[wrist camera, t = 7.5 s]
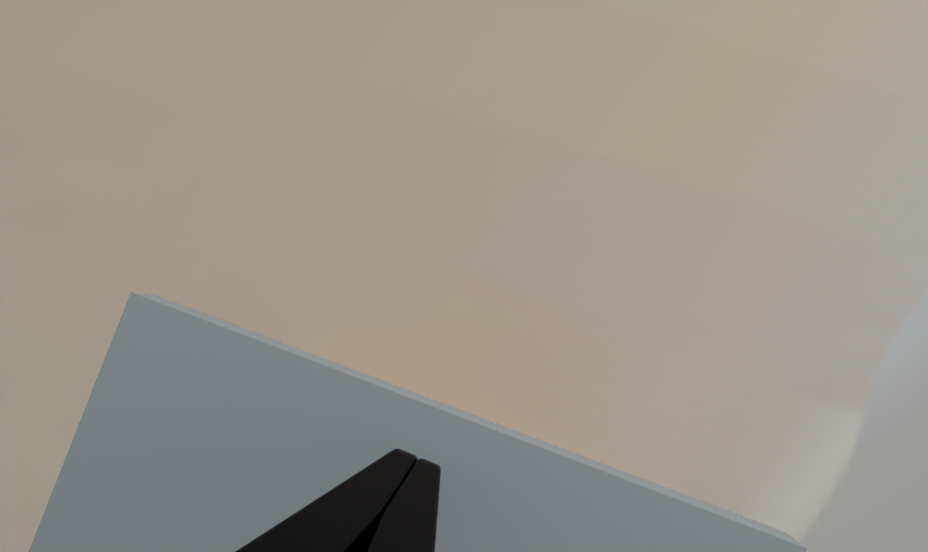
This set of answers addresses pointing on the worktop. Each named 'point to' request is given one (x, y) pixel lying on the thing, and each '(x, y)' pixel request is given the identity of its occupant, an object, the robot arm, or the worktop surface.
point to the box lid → (327, 456)
